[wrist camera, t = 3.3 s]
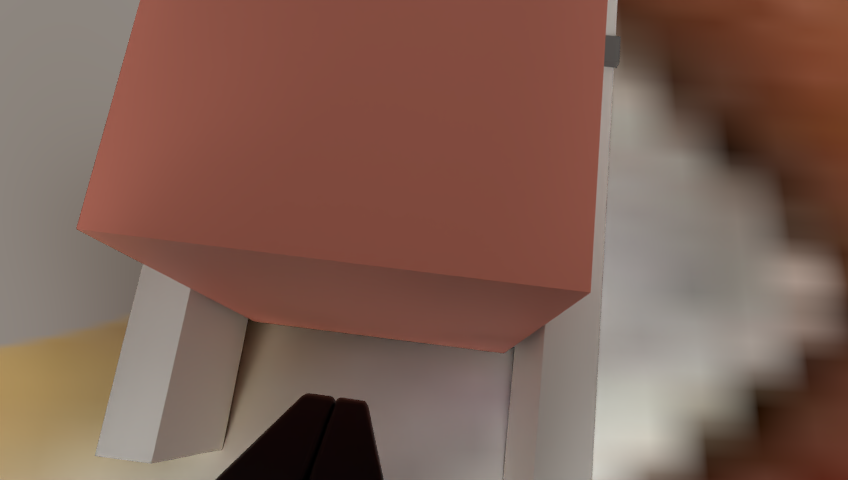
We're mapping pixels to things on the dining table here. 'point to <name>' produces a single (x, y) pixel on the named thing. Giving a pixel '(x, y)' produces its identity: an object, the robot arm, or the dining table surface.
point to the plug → (361, 161)
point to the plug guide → (224, 336)
